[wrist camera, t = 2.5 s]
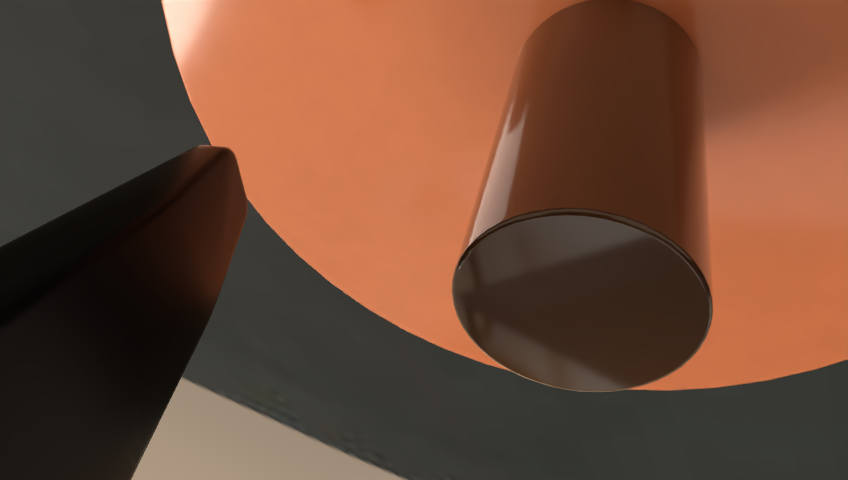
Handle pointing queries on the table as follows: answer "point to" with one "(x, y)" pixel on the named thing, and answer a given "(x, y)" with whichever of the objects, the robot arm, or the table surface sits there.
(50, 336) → the robot arm
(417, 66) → the pot lid
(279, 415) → the table surface
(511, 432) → the table surface
